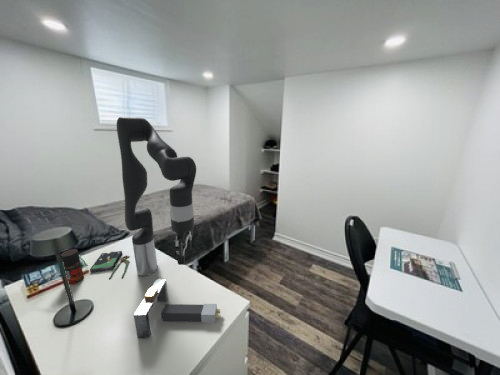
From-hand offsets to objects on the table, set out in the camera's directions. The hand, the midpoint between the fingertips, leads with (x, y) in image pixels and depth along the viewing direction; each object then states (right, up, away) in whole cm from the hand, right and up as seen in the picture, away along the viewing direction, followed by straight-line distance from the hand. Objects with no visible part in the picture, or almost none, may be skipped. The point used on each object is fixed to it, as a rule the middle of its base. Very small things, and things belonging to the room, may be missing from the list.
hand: (184, 256), depth 74 cm
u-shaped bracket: (-13, -25, +4) cm, 28 cm away
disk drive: (-53, -16, +36) cm, 66 cm away
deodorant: (-59, -19, +23) cm, 66 cm away
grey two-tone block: (+1, -25, +4) cm, 25 cm away
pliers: (-43, -17, +33) cm, 57 cm away
